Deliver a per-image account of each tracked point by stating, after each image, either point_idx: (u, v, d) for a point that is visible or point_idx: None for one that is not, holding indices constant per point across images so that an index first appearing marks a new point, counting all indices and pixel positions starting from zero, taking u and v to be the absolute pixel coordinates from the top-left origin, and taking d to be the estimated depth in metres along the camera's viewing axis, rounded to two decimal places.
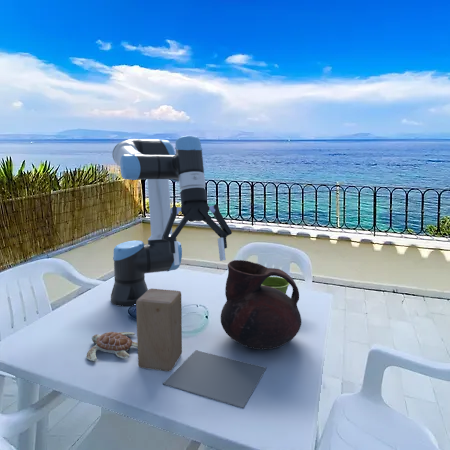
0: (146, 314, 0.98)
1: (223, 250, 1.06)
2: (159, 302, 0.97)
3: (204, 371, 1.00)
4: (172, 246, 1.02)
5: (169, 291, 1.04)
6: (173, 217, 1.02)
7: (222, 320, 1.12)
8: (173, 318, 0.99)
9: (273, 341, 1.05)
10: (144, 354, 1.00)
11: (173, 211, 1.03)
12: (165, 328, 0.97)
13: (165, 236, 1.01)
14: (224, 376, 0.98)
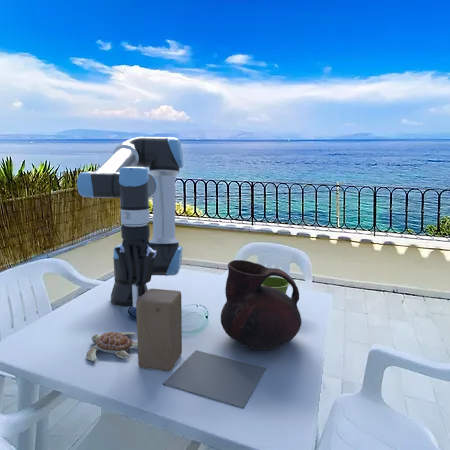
0: (146, 314, 0.98)
1: (135, 298, 1.03)
2: (159, 302, 0.97)
3: (204, 371, 1.00)
4: (131, 288, 1.04)
5: (169, 291, 1.04)
6: (120, 258, 1.03)
7: (222, 320, 1.12)
8: (173, 318, 0.99)
9: (273, 341, 1.05)
10: (144, 354, 1.00)
11: (117, 253, 1.03)
12: (165, 328, 0.97)
13: (124, 278, 1.04)
14: (224, 376, 0.98)
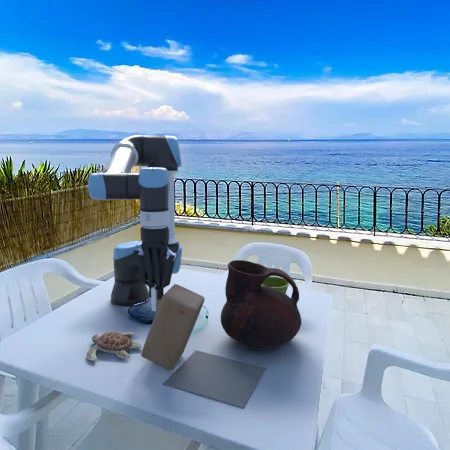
0: (168, 312, 0.96)
1: (154, 302, 1.01)
2: (186, 305, 0.95)
3: (204, 371, 1.00)
4: (150, 291, 1.02)
5: (194, 294, 1.03)
6: (139, 261, 1.01)
7: (222, 320, 1.12)
8: (192, 324, 0.98)
9: (273, 341, 1.05)
10: (151, 346, 0.99)
11: (136, 255, 1.01)
12: (182, 331, 0.97)
13: (143, 281, 1.01)
14: (224, 376, 0.98)
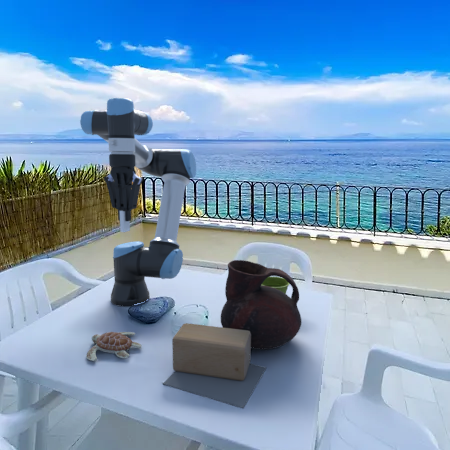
0: (230, 356, 0.95)
1: (123, 223, 1.12)
2: (244, 370, 0.95)
3: None
4: (119, 214, 1.13)
5: (250, 355, 1.02)
6: (109, 186, 1.12)
7: (222, 320, 1.12)
8: None
9: (273, 341, 1.05)
10: (187, 348, 0.97)
11: (106, 181, 1.12)
12: (217, 374, 0.97)
13: (112, 205, 1.13)
14: None
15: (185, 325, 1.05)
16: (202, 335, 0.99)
